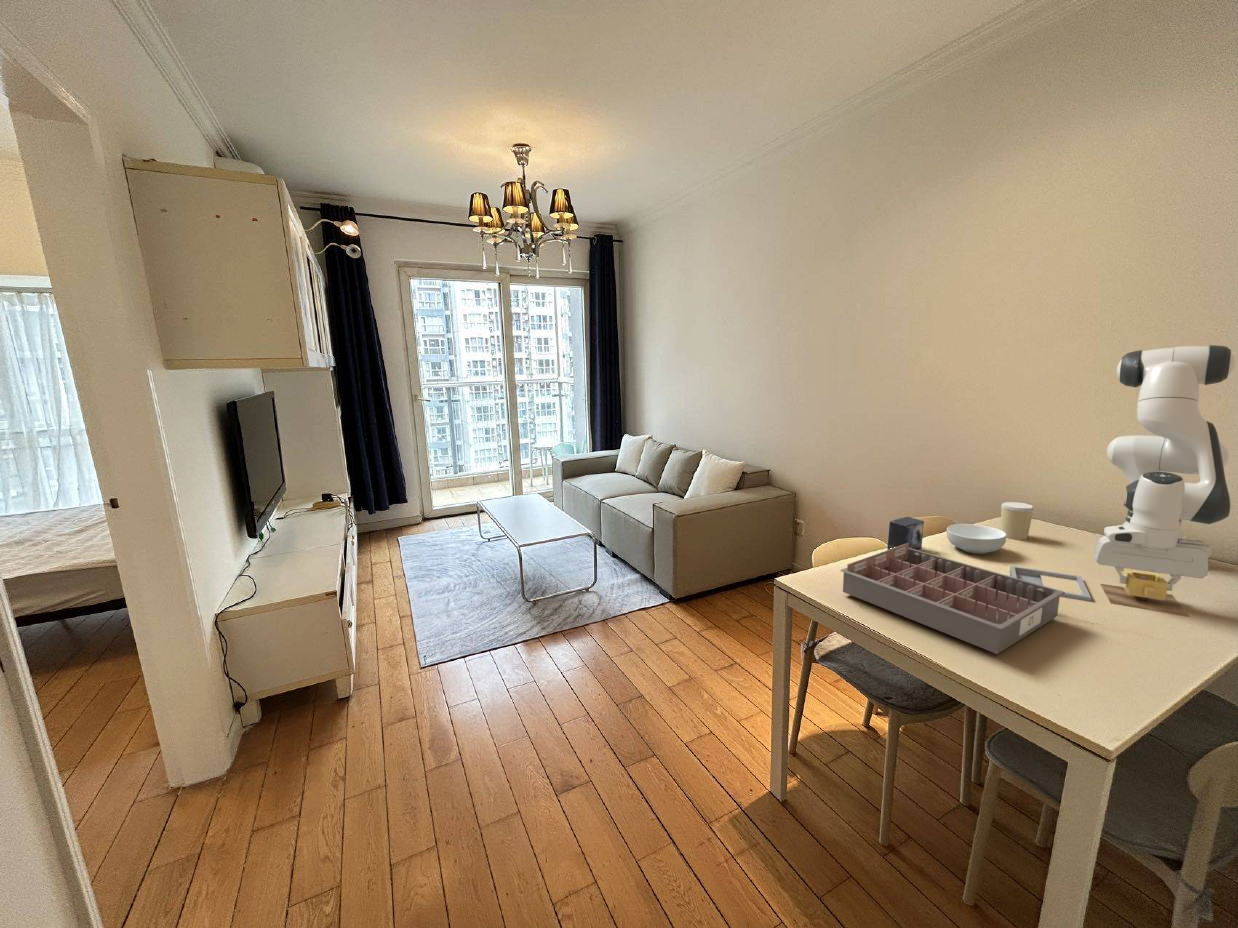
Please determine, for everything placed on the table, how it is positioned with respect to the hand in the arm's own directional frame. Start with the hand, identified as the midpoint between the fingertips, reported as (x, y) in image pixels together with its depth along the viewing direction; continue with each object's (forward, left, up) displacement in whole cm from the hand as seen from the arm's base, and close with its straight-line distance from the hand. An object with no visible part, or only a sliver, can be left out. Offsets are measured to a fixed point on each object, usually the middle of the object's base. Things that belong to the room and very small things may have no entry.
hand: (1144, 586), depth 130 cm
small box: (-16, -56, -5) cm, 59 cm away
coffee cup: (-49, -24, -5) cm, 55 cm away
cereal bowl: (-26, -36, -5) cm, 45 cm away
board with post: (0, 0, -5) cm, 5 cm away
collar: (+2, 0, -2) cm, 2 cm away
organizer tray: (+28, -43, -6) cm, 51 cm away
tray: (0, -19, -5) cm, 20 cm away
